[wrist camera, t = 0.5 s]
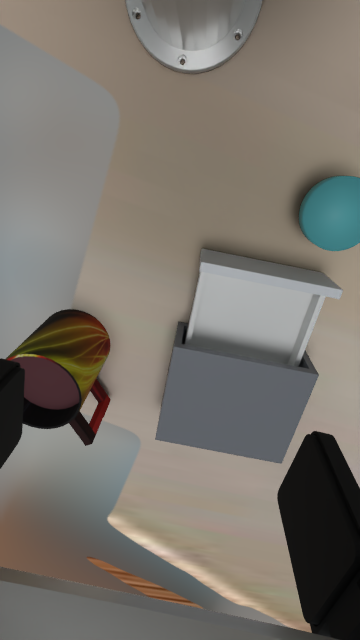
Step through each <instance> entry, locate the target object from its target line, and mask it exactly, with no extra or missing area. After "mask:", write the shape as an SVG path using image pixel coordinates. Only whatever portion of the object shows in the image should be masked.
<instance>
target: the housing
mask: <svg viewBox="0 0 360 640" xmlns="http://www.w3.org/2000/svg"><path fill="white" fill-rule="evenodd" d="M187 328H188V323H184V322H178V326H177V331H176V336H175V341H174V346H173V351H172V356H171V361H170V365H169V370H168V375H167V380H166V385H165V390H164V395H163V400H162V405H161V411H160V416H159V422H158V427H157V433H156V438H155V440H160V441H165V442H171V443H176V444H181V445H186V446H192V447H197V448H202V449H207V450H213V451H218V452H223V453H228V454H234V455H239V456H244V457H249V458H254V459H260V460H265V461H270V462H275V463H282V461H283V459H284V456H285V454H286V452H287V449H288V447H289V445H290V442H291V440H292V437H293V435H294V433H295V430H296V428H297V426H298V423H299V421H300V418H301V416H302V414H303V411H304V409H305V407H306V404H307V402H308V399H309V397H310V395H311V392H312V390H313V388H314V385H315V383H316V380H317V378H318V376H319V374H318V373H317V371H316V369H315V367H314V365H313V364H312V362H311V360H310V358H309V356H308V355H307V353H306V351H304V353H303V356H302V359H301V361H300V364H299V366H298V367H297V366H292V365H287V364H282V363H277V362H272V361H266V360H261V359H256V358H251V357H246V356H241V355H236V354H231V353H226V352H220V351H215V350H210V349H205V348H200V347H195V346H190V345H185V344H184V342H185V337H186V333H187Z"/></svg>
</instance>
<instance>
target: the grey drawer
mask: <svg viewBox="0 0 360 640" xmlns="http://www.w3.org/2000/svg"><path fill="white" fill-rule="evenodd" d="M199 271H200V273H199V277H198V282H197V286H196V291H195V296H194V300H193V305H192V310H191V314H190V319H189V323H188V328H187V333H186V337H185V342H184V344H185V345H190V346H195V347H200V348H205V349H210V350H215V351H220V352H226V353H231V354H236V355H241V356H246V357H251V358H256V359H261V360H266V361H272V362H277V363H282V364H287V365H292V366H297V367H298V366H299V364H300V361H301V359H302V356H303V353H304V351H305V348H306V346H307V343H308V341H309V338H310V335H311V333H312V330H313V328H314V325H315V322H316V320H317V317H318V315H319V312H320V310H321V307H322V304H323V302H324V299H325V297H331V298H336V299H340V297H341V294H342V292H343V290H342V289H341V288H340V287H339V286H338V285H337V284H335V283H334V282H333V281H332V280H331V279H330V278H329V277H327V276H326V275H325V274H324V273H322V272H317V271H312V270H307V269H302V268H297V267H292V266H287V265H282V264H277V263H272V262H267V261H262V260H257V259H252V258H247V257H242V256H237V255H232V254H227V253H222V252H217V251H212V250H207V249H202V250H201V254H200V268H199Z"/></svg>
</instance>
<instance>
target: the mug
mask: <svg viewBox="0 0 360 640" xmlns="http://www.w3.org/2000/svg"><path fill="white" fill-rule="evenodd" d="M109 351H110V339H109V336H108V333H107V331H106V329H105V328H104V326H103V325H102V324H101V323H100V322H99V321H98V320H97V319H96V318H95V317H93V316H91V315H90V314H88V313H85V312H83V311H79V310H71V309H68V310H61V311H59V312H56V313H54V314H53V315H52V316H50V317H49V318H48V319H47V320H46V321H45V322H44V323H43V324H42V325H41V326H40V327H39V328H38V329H37V330H35V331H34V332H33V333H32V334H31V335H30V336H29V337H28V338H27V339H26V340H25V341H24V342H23V343H22V344H21V345H20V346H19V347H18V348H17V349H15V350H14V351H13V352H12V353H11V354H10V355H9V356H8V357H7V358H6V360H10V361H14V362H18V363H20V366H21V368H24V369H25V384H24V404H23V424H26V425H28V426H31V427H36V428H41V429H51V428H58V427H61V426H64V425H66V424H68V423H69V424H70V425H71V426H72V428H73V429H74V430H75V432H76V433H77V435H78V436H79V437H80V438H81V440H82V441H83V443H84V444H85V446H86V445H90V444H92V443H93V440H94V438H95V435H96V433H97V431H98V428H99V426H100V423H101V421H102V418H103V417H104V415H105V412H106V410H107V408H108V405H109V403H110V398H109V397H108V395H107V394H106V392H105V391H104V389H103V388H102V386H101V385H100V383H99V382H98V380H97V379H96V378H97V376H98V374H99V372H100V370H101V368H102V366H103V364H104V362H105V361H106V359H107V357H108V354H109ZM89 391H91V392H92V394H93V395H94V397H95V398H96V400H97V401H98V405H97V408H96V410H95V412H94V414H93V416H92V419H91V421H90V423H89V424H88V422H87V421H86V420H85V418H84V417H83V416H82V414H81V413H80V409H81V407H82V405H83V403H84V401H85V399H86V397H87V395H88V393H89Z"/></svg>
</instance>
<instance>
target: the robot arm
mask: <svg viewBox="0 0 360 640" xmlns="http://www.w3.org/2000/svg"><path fill="white" fill-rule="evenodd" d="M125 2H126V7H127V11H128V15H129V18H130V22H131V24H132V26H133V28H134V31H135V33H136V35H137V37H138V38H139V40H140V42H141V44H142V45H143V46H144V48H145V49H146V50H147V51H148V52H149V54H150V55H151V56H152V57H153V58H155V59H156V60H157V61H158V62H159V63H161V64H162V65H164V66H166V67H168V68H170V69H172V70H174V71H178V72H182V73H195V74H197V73H202V72H207V71H210V70H212V69H214V68H217V67H219V66H221V65H222V64H224V63H225V62H227V61H228V60H229V59H231V58H232V57H233V56H234V55H235V54H236V53H237V52H238V51H239V50H240V49H241V47H242V46H243V44H244V43H245V42H246V40H247V39H248V37H249V36H250V34H251V32H252V29H253V27H254V25H255V23H256V21H257V18H258V15H259V12H260V9H261V5H262V0H125ZM138 14H140V15H141V18H140V19H136V16H137V15H138ZM236 35H239V36H240V40H236V39H235V36H236ZM181 60H185V64H184V65H181V64H180V61H181ZM24 384H25V369H24V368H21V366H20V363H18V362H14V361H10V360H6V359H0V468H1V467H2V466H3V464H4V463H5V462H6V460H7V458H8V457H9V456H10V454H11V453H12V451H13V450H14V448H15V447H16V445H17V444H18V442H19V440H20V438H21V435H22V424H23V404H24ZM278 505H279V509H280V514H281V518H282V523H283V527H284V532H285V536H286V541H287V545H288V550H289V554H290V558H291V563H292V567H293V572H294V576H295V581H296V585H297V590H298V594H299V599H300V603H301V608H302V612H303V616H304V619H305V621H306V622H307V623H310V626H311V630H312V633H309V632H305V631H301V630H297V629H293V628H288V627H283V626H279V625H274V624H270V623H265V622H260V621H256V620H251V619H247V618H242V617H238V616H233V615H228V614H224V613H218V612H215V611H210V610H205V609H201V608H196V607H191V606H187V605H182V604H177V603H172V602H168V601H163V600H158V599H154V598H149V597H144V596H139V595H135V594H129V593H125V592H120V591H115V590H111V589H105V588H101V587H97V586H91V585H87V584H82V583H77V582H72V581H67V580H62V579H58V578H53V577H48V576H43V575H38V574H33V573H28V572H24V571H19V570H14V569H9V568H4V567H0V640H360V488H359V486H358V484H357V482H356V480H355V478H354V476H353V474H352V472H351V470H350V468H349V466H348V464H347V462H346V460H345V458H344V456H343V454H342V452H341V450H340V448H339V446H338V444H337V442H336V440H335V438H334V436H333V435H330V434H326V433H322V432H317V431H314V432H312V433H311V435H310V434H307V435H306V436H305V438H304V440H303V442H302V444H301V446H300V448H299V450H298V452H297V454H296V456H295V458H294V460H293V462H292V464H291V466H290V468H289V470H288V472H287V474H286V476H285V478H284V480H283V482H282V484H281V486H280V488H279V491H278Z"/></svg>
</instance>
